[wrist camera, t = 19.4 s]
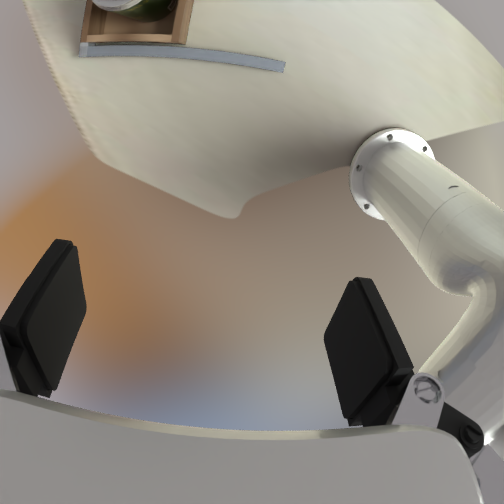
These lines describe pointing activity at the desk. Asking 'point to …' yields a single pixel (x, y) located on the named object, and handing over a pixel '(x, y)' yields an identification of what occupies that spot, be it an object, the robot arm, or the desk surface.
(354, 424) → the robot arm
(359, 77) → the desk surface
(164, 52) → the bay
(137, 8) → the green soda can
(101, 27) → the crate
